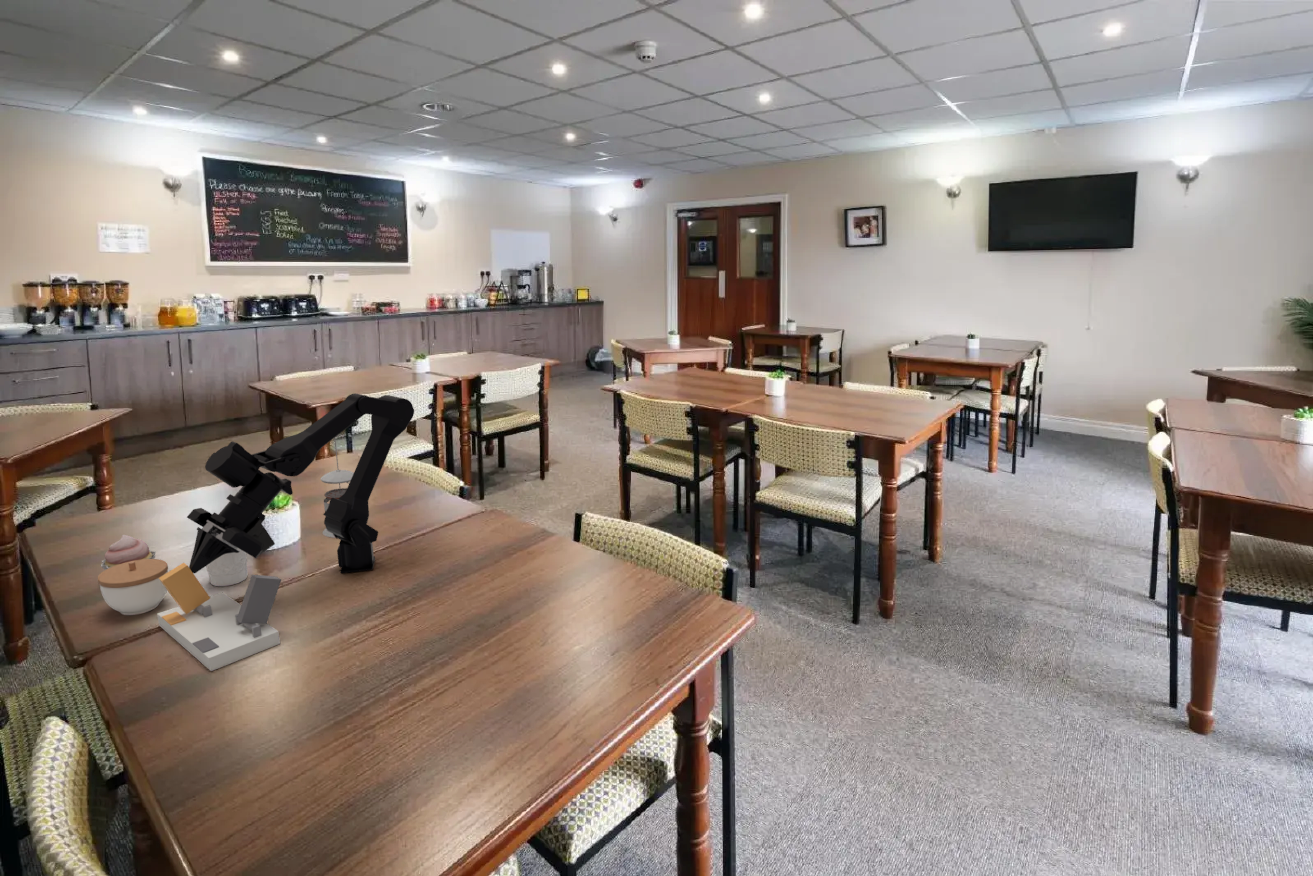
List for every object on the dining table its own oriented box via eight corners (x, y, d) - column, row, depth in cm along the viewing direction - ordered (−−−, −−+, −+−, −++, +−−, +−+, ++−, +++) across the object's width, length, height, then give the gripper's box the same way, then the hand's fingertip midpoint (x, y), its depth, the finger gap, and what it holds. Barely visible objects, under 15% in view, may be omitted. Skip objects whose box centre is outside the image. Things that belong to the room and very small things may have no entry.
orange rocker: (206, 597, 133) (179, 560, 128) (217, 605, 129) (191, 568, 125) (182, 612, 130) (154, 575, 125) (193, 622, 127) (165, 583, 122)
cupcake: (133, 568, 152) (125, 524, 149) (170, 572, 150) (163, 528, 147) (92, 587, 143) (82, 541, 140) (130, 592, 141) (122, 545, 139)
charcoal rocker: (255, 624, 127) (272, 574, 128) (268, 633, 124) (285, 582, 124) (230, 623, 123) (247, 571, 124) (243, 633, 120) (260, 580, 121)
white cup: (231, 589, 143) (224, 543, 140) (197, 585, 144) (190, 540, 142) (259, 573, 150) (253, 529, 148) (227, 569, 152) (221, 526, 149)
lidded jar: (133, 593, 141) (125, 550, 138) (186, 595, 140) (179, 551, 138) (90, 620, 130) (80, 573, 128) (147, 622, 130) (138, 575, 128)
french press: (313, 535, 170) (302, 435, 164) (342, 518, 181) (332, 424, 175) (350, 539, 169) (340, 438, 163) (377, 521, 180) (368, 426, 174)
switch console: (224, 603, 137) (221, 583, 136) (280, 643, 124) (277, 621, 122) (159, 625, 129) (155, 604, 128) (210, 671, 115) (207, 648, 114)
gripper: (308, 534, 134) (250, 607, 128) (261, 510, 145) (206, 576, 138) (262, 503, 126) (199, 579, 120) (216, 481, 137) (156, 549, 131)
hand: (191, 571), depth 127 cm, fingers closed, pressing on orange rocker
